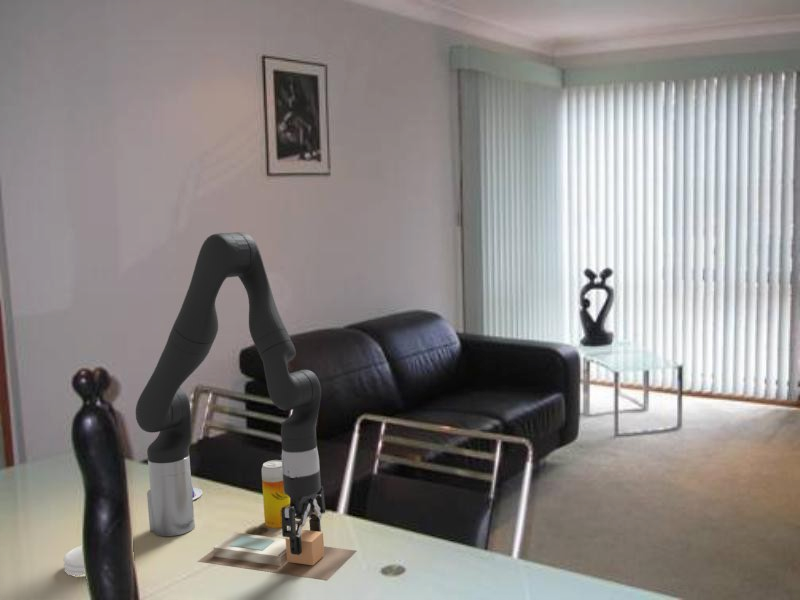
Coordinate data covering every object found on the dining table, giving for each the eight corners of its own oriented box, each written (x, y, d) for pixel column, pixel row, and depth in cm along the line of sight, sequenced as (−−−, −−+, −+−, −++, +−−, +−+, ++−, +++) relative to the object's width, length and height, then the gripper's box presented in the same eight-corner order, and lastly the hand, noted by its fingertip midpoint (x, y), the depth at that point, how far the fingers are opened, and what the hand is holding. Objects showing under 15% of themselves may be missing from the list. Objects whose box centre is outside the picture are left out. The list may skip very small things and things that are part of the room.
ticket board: (198, 565, 174) (196, 551, 174) (234, 538, 187) (233, 525, 187) (327, 585, 163) (326, 569, 163) (357, 555, 176) (356, 541, 176)
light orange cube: (286, 561, 171) (285, 538, 171) (298, 551, 176) (297, 528, 175) (313, 565, 169) (311, 541, 169) (324, 555, 174) (322, 532, 173)
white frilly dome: (85, 582, 169) (84, 566, 169) (54, 572, 174) (53, 556, 174) (125, 563, 178) (124, 547, 177) (94, 554, 183) (93, 538, 182)
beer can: (286, 532, 190) (282, 468, 188) (261, 531, 191) (257, 467, 189) (295, 521, 196) (291, 459, 194) (270, 520, 197) (266, 459, 195)
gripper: (301, 457, 178) (306, 530, 180) (267, 479, 165) (272, 557, 167) (333, 459, 175) (337, 533, 177) (300, 482, 162) (306, 561, 164)
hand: (306, 545), depth 172 cm, fingers open, 8 cm apart
